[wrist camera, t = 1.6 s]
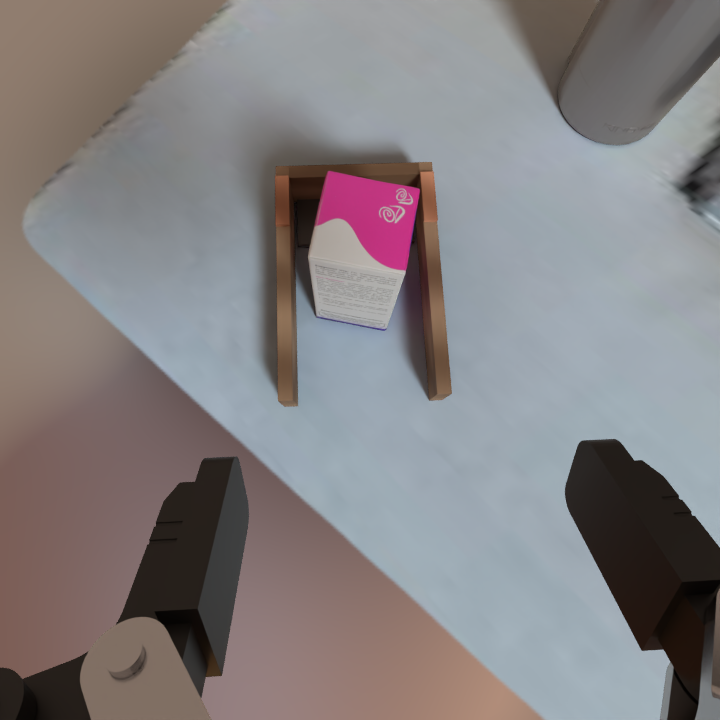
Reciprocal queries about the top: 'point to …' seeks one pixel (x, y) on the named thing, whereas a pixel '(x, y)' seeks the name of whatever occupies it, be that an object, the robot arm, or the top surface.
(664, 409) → the top surface
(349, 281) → the supplement box
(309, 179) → the channel
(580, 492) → the robot arm
